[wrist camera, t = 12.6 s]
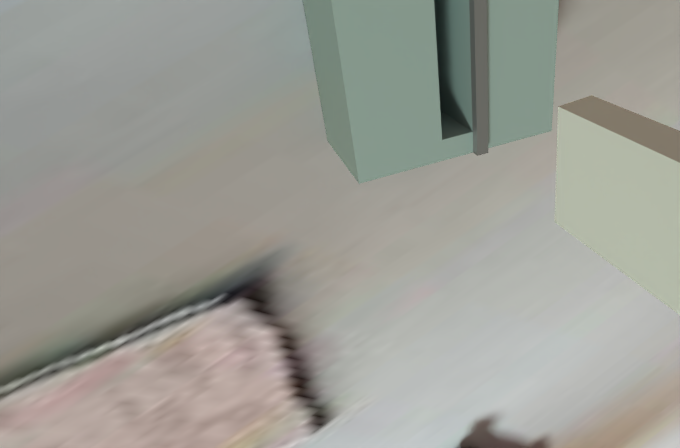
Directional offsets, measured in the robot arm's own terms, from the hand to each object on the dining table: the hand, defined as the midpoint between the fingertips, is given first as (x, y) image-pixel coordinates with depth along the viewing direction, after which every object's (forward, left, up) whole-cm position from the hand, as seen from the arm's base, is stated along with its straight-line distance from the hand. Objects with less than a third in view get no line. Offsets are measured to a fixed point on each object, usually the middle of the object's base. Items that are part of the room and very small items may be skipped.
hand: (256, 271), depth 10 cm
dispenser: (+15, -5, -30) cm, 34 cm away
